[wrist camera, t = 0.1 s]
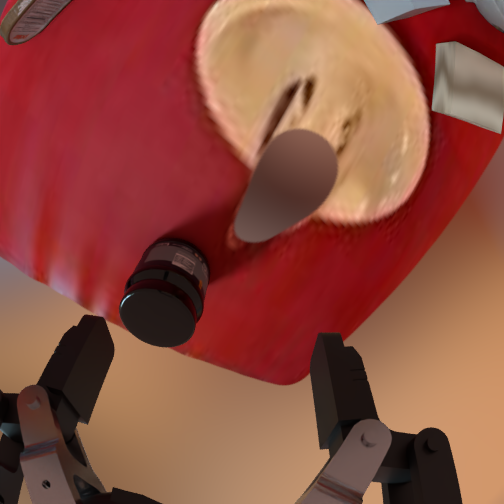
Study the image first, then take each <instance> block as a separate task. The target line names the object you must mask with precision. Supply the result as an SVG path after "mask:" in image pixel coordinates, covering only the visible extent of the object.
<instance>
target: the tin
mask: <svg viewBox="0 0 504 504" xmlns="http://www.w3.org/2000/svg"><path fill="white" fill-rule="evenodd" d="M71 1H72V0H18V1H17V3H16V4H15V5H14V6H13V7H12V8H11V10H10V11H9V12H8V13H7V15H6V16H5V18H4V19H3V21H2V23H1V26H0V35H1V36H2V37H3V38H4V40H5V42H6V43H7V44H8V45H18V44H22V43H25V42H27V41H29V40H30V39H32V38H33V37H35V36H36V35H37V34H39V33H40V32H41V31H42V30H43V29H44V28H45V27H46V26H47V25H48V24H49V23H50V22H51V21H52V20H53V19H54V18H55V17H56V16H57V14H58V13H59V12H60V11H61V10H62V9H63V8H64V7H65V6H67V5H68V4H69V3H70V2H71Z"/></svg>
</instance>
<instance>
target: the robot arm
mask: <svg viewBox="0 0 504 504" xmlns="http://www.w3.org/2000/svg"><path fill="white" fill-rule="evenodd" d="M113 357H114V343H113V341H112V338H111V335H110V332H109V330H108V327H107V324H106V321H105V319H104V318H103V317H100V316H93V315H84V316H83V317H82V319H81V320H80V322H79V324H78V325H77V326H73V327H72V328H70V329H69V330H68V331H67V332H66V333H65V334H64V335H63V337H62V339H61V340H60V342H59V346H57V347H56V349H55V351H54V354H53V355H52V356H51V358H50V360H49V362H48V364H47V366H46V368H45V369H44V371H43V373H42V376H41V377H40V379H39V381H38V383H37V384H36V385H30V386H27V387H25V388H24V389H23V390H22V391H21V392H20V394H15V393H3V392H2V391H1V390H0V430H1V431H2V432H3V435H2V437H1V441H0V504H18V499H19V495H20V490H21V486H22V482H23V477H24V478H25V481H26V485H27V488H28V491H29V494H30V497H31V500H32V503H33V504H162V503H159V502H157V501H155V500H152V499H150V498H148V497H146V496H144V495H141V494H137V493H133V492H128V491H124V490H121V489H118V488H114V487H113V489H112V492H106V490H105V488H104V486H103V485H102V483H101V481H100V479H99V478H98V477H97V475H96V474H95V473H94V471H93V469H92V467H91V465H90V463H89V460H88V458H87V455H86V453H85V450H84V447H83V445H82V442H81V439H80V437H79V434H78V431H77V429H76V426H77V423H78V422H81V423H84V424H87V425H88V423H89V420H90V417H91V414H92V411H93V409H94V406H95V403H96V400H97V398H98V395H99V392H100V390H101V387H102V385H103V382H104V379H105V377H106V374H107V372H108V369H109V367H110V364H111V362H112V360H113ZM310 376H311V383H312V390H313V398H314V405H315V412H316V421H317V429H318V437H319V446H320V449H329V454H330V458H329V459H328V461H327V462H326V464H325V465H324V467H323V468H322V469H321V471H320V472H319V473H318V475H317V476H316V477H315V479H314V480H313V481H312V483H311V484H310V485H309V487H308V488H307V489H306V491H305V492H304V493H303V494H302V496H301V497H300V498H299V499H298V500H297V502H295V504H362V502H363V500H362V497H363V495H364V493H365V491H366V489H367V488H368V486H369V484H370V483H371V481H373V482H380V483H381V484H382V494H383V504H462V498H461V493H460V488H459V483H458V478H457V473H456V469H455V464H454V460H453V456H452V452H451V448H450V444H449V441H448V438H447V436H446V435H445V433H443V432H442V431H441V430H439V429H437V428H426V429H423V430H422V431H420V432H419V433H418V434H408V433H401V432H395V431H392V430H390V429H388V427H387V426H386V425H385V424H384V423H382V422H381V421H380V420H379V418H378V415H377V412H376V408H375V404H374V400H373V396H372V393H371V390H370V385H369V382H368V381H367V375H366V372H365V368H364V365H363V361H362V358H361V356H360V355H359V354H358V352H357V351H356V350H355V349H354V347H352V346H350V347H344V344H343V340H342V337H341V334H340V333H319V334H318V336H317V340H316V343H315V347H314V350H313V354H312V357H311V362H310Z"/></svg>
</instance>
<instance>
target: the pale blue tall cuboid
mask: <svg viewBox="0 0 504 504" xmlns="http://www.w3.org/2000/svg"><path fill="white" fill-rule="evenodd" d="M364 1H365V3H366V5H367V6H368V8H369V10H370V12H371V13H372V15H373V17H374V19H375V21H376V23H377V25H379V24H383V23H387V22H391V21H395V20H400V19H404V18H409V17H412V16H415V15H418V14H421V13H423V12H426V11H430V10H433V9H436V8H439V7H442V6H446V5H449V4H450V3H449V1H448V0H364Z"/></svg>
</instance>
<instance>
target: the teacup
mask: <svg viewBox="0 0 504 504" xmlns="http://www.w3.org/2000/svg"><path fill="white" fill-rule="evenodd" d="M465 1H466V2H474V3H475V5H476V7H477V9H478V10H479V12H480V13H481V14H482V15H483V16H484V18H485V19H486V20H487V21H488V22H489V23H490V24H491V25H493V26H494V27H495V28H496V29H498V30H499V31H501V32H503V33H504V0H465Z"/></svg>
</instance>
